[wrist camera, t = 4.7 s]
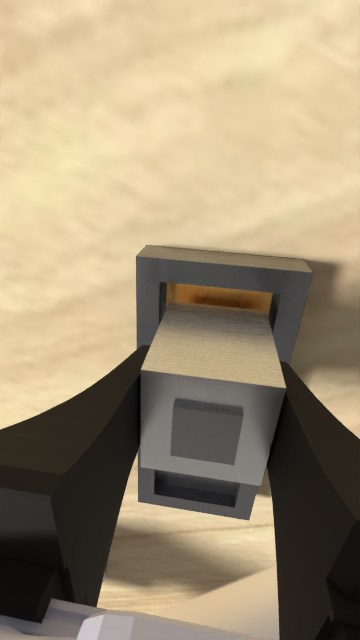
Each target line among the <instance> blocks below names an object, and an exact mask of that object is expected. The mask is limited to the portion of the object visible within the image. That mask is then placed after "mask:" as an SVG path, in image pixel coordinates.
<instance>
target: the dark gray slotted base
mask: <svg viewBox="0 0 360 640" xmlns="http://www.w3.org/2000/svg"><path fill="white" fill-rule="evenodd" d="M312 274H313V272H312V271H311V269H310V268H309V267H308V265H307V264H306V263H305V261H304V260H303V259H292V258H281V257H270V256H259V255H247V254H236V253H225V252H214V251H203V250H192V249H181V248H169V247H158V246H147V245H146V246H145V247H144V248H143V249H142V250H141V251H140V252H139V254H138V255H137V256H136V303H137V349H138V348H139V347H141V346H142V345H149V346H151V344H152V342H153V339H154V337H155V335H156V332H157V330H158V328H159V325H160V323H161V320H162V318H163V316H164V313H165V311H166V309H167V306H168V304H169V302H170V301H176V302H186V303H195V304H204V305H214V306H223V307H233V308H242V309H252V310H261V311H267V315H268V319H269V323H270V327H271V331H272V334H273V338H274V342H275V346H276V350H277V354H278V358H279V361H282V362H287V363H288V365H289V364H290V360H291V356H292V352H293V348H294V344H295V340H296V336H297V332H298V329H299V325H300V321H301V317H302V313H303V309H304V305H305V301H306V297H307V294H308V290H309V286H310V282H311V278H312ZM257 488H258V486H257V485H251V484H245V483H238V482H232V481H226V480H219V479H213V478H207V477H200V476H194V475H188V474H181V473H175V472H169V471H162V470H156V469H150V468H143V467H141V444H140V447H139V449H138V502H143V503H149V504H154V505H160V506H166V507H172V508H178V509H184V510H190V511H196V512H202V513H208V514H214V515H220V516H226V517H232V518H238V519H244V520H249V519H250V515H251V511H252V507H253V503H254V500H255V496H256V492H257Z"/></svg>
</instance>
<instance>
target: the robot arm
mask: <svg viewBox="0 0 360 640" xmlns="http://www.w3.org/2000/svg"><path fill="white" fill-rule="evenodd" d="M149 349H150V346H149V345H142V346H141V347H139V348H138V349H137V350H136V351H135V352H134V353H132V354H131V355H130V356H129V357H128V358H127V359H126V360H124V361H123V362H122V363H121V364H120V365H118V366H117V367H116V368H115V369H113V370H112V371H111V372H110V373H109V374H107V375H106V376H105V377H103V378H102V379H100V380H99V381H98V382H96V383H95V384H93V385H92V386H91V387H89V388H88V389H86V390H84V391H83V392H81V393H79V394H78V395H76V396H74V397H73V398H71V399H69V400H67V401H65V402H63V403H61V404H59V405H57V406H55V407H53V408H51V409H49V410H47V411H45V412H43V413H41V414H39V415H37V416H34V417H32V418H30V419H27V420H25V421H22V422H20V423H17V424H14V425H12V426H9V427H6V428H4V429H1V430H0V640H273V639H268V638H263V637H258V636H253V635H248V634H243V633H238V632H233V631H228V630H223V629H218V628H214V627H209V626H204V625H199V624H194V623H189V622H184V621H179V620H174V619H169V618H164V617H160V616H155V615H150V614H145V613H140V612H133V611H120V610H106V609H101V608H96V607H97V602H98V598H99V594H100V589H101V585H102V583H103V582H104V579H105V568H106V564H107V559H108V555H109V551H110V547H111V543H112V539H113V535H114V531H115V527H116V523H117V519H118V515H119V511H120V507H121V503H122V500H123V496H124V492H125V489H126V485H127V481H128V477H129V474H130V471H131V468H132V465H133V462H134V460H135V457H136V454H137V452H138V449H139V447H140V444H141V368H142V365H143V363H144V361H145V358H146V356H147V353H148V351H149ZM279 362H280V366H281V370H282V374H283V378H284V382H285V385H286V391H285V395H284V399H283V403H282V406H281V410H280V414H279V418H278V422H277V426H276V430H275V434H274V437H273V441H272V445H271V449H270V453H269V457H268V461H267V469H268V475H269V480H270V486H271V493H272V502H273V515H274V528H275V544H276V561H277V581H278V602H279V634H280V640H360V439H359V438H358V437H357V436H355V435H354V434H353V433H352V432H351V431H350V430H348V429H347V428H346V427H345V426H344V425H343V424H342V423H341V422H340V421H339V420H338V419H337V418H336V417H335V416H334V415H333V414H332V413H331V412H330V411H329V410H328V409H327V408H326V407H325V406H324V405H323V404H322V403H321V402H320V401H319V400H318V399H317V398H316V397H315V396H314V394H313V393H312V392H311V391H310V390H309V389H308V387H307V386H306V385H305V384H304V383H303V382H302V380H301V379H300V378H299V377H298V376H297V374H296V373H295V372H294V371H293V369H292V368H291V367H290V366H289V365H288V363H287V362H282V361H279Z"/></svg>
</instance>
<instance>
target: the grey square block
mask: <svg viewBox="0 0 360 640" xmlns="http://www.w3.org/2000/svg"><path fill="white" fill-rule="evenodd" d="M285 391H286V385H285V382H284V378H283V374H282V370H281V366H280V362H279V358H278V354H277V350H276V346H275V342H274V338H273V334H272V331H271V327H270V323H269V319H268V315H267V311H261V310H252V309H242V308H233V307H223V306H214V305H204V304H195V303H186V302H176V301H170V302H169V304H168V306H167V309H166V311H165V313H164V316H163V318H162V320H161V323H160V325H159V328H158V330H157V332H156V335H155V337H154V339H153V342H152V344H151V346H150V349H149V351H148V353H147V356H146V358H145V361H144V363H143V365H142V368H141V467H143V468H150V469H156V470H162V471H169V472H175V473H181V474H188V475H194V476H200V477H207V478H213V479H219V480H226V481H232V482H238V483H245V484H251V485H257V486H261V484H262V480H263V476H264V472H265V468H266V465H267V461H268V457H269V453H270V449H271V445H272V441H273V437H274V434H275V430H276V426H277V422H278V418H279V414H280V410H281V406H282V403H283V399H284V395H285Z"/></svg>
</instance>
